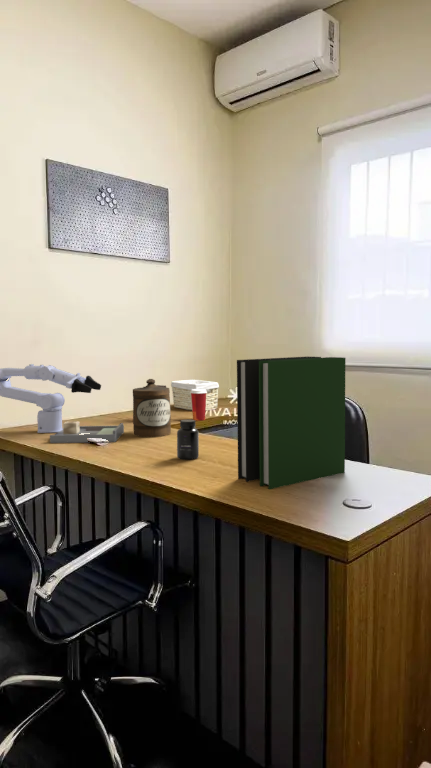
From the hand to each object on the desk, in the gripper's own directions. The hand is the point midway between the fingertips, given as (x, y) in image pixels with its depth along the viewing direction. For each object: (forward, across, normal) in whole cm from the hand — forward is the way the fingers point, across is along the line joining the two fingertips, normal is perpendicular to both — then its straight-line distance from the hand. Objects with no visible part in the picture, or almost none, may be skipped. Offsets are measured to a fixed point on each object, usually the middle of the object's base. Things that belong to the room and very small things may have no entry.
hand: (95, 388), depth 214 cm
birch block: (0, -12, +16) cm, 20 cm away
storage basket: (+21, +77, +18) cm, 82 cm away
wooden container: (+27, +3, +11) cm, 29 cm away
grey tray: (+6, -10, +16) cm, 20 cm away
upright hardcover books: (+87, -48, -9) cm, 99 cm away
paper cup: (+34, +40, +11) cm, 54 cm away
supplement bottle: (+54, -34, +1) cm, 64 cm away
